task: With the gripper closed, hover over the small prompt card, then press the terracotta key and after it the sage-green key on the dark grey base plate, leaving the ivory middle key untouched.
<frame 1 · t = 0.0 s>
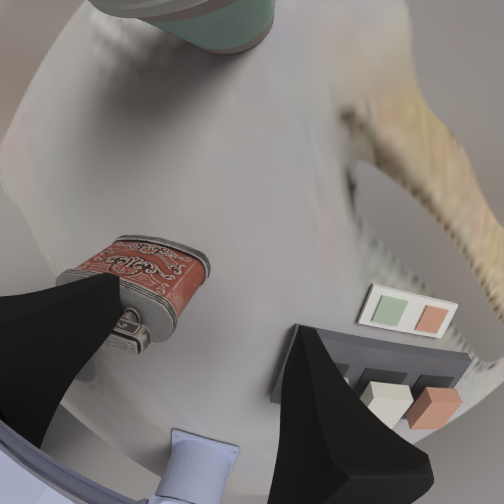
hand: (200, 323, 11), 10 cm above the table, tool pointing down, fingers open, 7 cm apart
coffee cup: (230, 19, 15), on the table
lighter: (160, 257, 22), on the table
dark grey base plate: (375, 377, 23), on the table
key ivory: (381, 406, 20), point 4 cm above the table, slide at 0.0 cm
prompt card: (410, 312, 20), on the table
key sage: (318, 398, 20), point 4 cm above the table, slide at 0.0 cm
key terracotta: (434, 409, 19), point 4 cm above the table, slide at 0.0 cm
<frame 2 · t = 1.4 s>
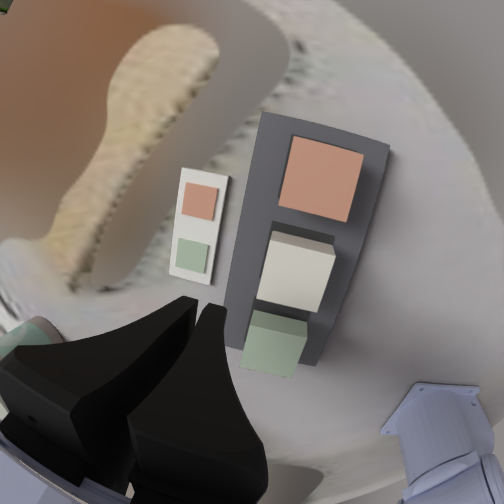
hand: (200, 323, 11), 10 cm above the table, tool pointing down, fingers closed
coffee cup: (48, 336, 29), on the table
dark grey base plate: (295, 250, 20), on the table
key ivory: (295, 271, 17), point 3 cm above the table, slide at 0.0 cm
prompt card: (197, 227, 21), on the table
key sage: (273, 345, 19), point 3 cm above the table, slide at 0.0 cm
key terracotta: (319, 177, 15), point 3 cm above the table, slide at 0.0 cm
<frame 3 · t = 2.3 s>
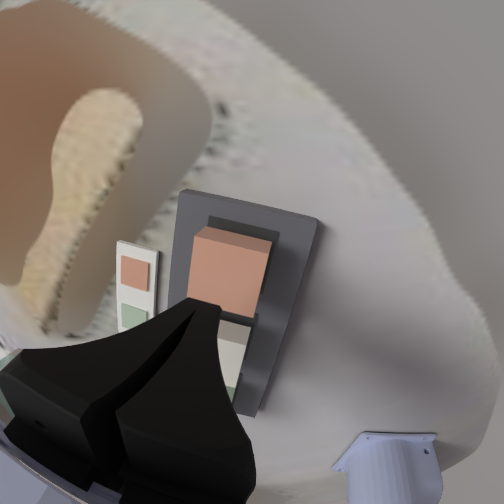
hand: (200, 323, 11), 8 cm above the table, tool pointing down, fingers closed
coffee cup: (30, 365, 29), on the table
dark grey base plate: (226, 320, 21), on the table
key ivory: (214, 351, 18), point 4 cm above the table, slide at 0.0 cm
prompt card: (137, 294, 21), on the table
key sage: (205, 404, 20), point 3 cm above the table, slide at 0.0 cm
key terracotta: (228, 271, 15), point 3 cm above the table, slide at 0.0 cm
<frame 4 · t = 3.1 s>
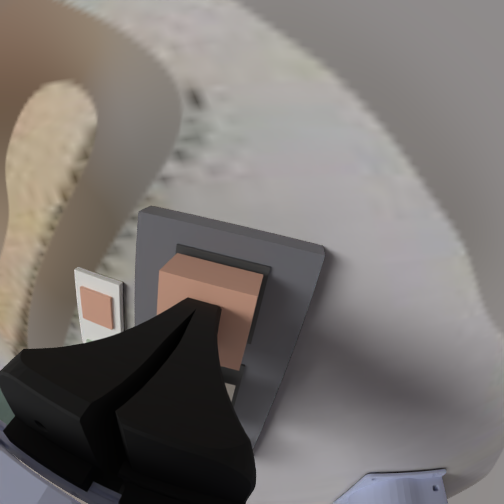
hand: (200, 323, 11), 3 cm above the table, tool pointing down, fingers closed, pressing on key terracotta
coffee cup: (10, 387, 24), on the table
dark grey base plate: (208, 366, 16), on the table
key ivory: (190, 410, 13), point 4 cm above the table, slide at 0.0 cm
prompt card: (103, 330, 17), on the table
key terracotta: (207, 312, 12), point 3 cm above the table, slide at 0.9 cm, touching gripper
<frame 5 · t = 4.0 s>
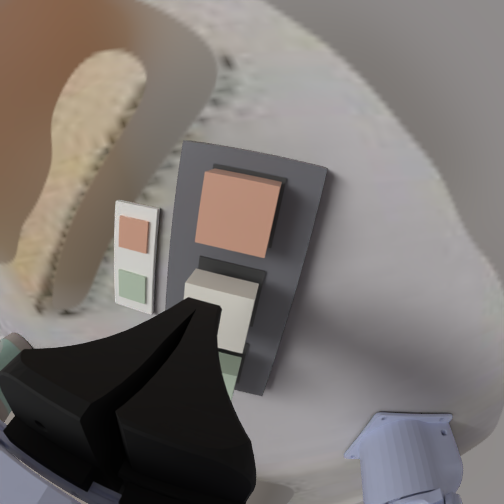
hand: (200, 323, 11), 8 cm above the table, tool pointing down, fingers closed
coffee cup: (25, 351, 28), on the table
dark grey base plate: (231, 283, 20), on the table
key ivory: (218, 311, 16), point 3 cm above the table, slide at 0.0 cm
prompt card: (135, 258, 20), on the table
key sage: (208, 378, 18), point 3 cm above the table, slide at 0.0 cm
key terracotta: (238, 211, 15), point 3 cm above the table, slide at 0.9 cm
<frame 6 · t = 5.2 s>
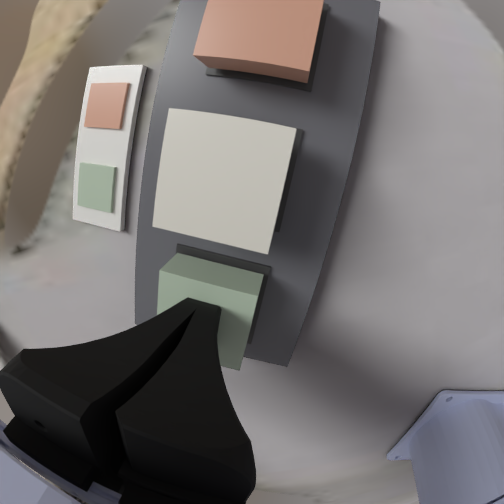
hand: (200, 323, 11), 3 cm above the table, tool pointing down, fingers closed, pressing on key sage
dark grey base plate: (244, 167, 12), on the table
key ivory: (225, 175, 9), point 3 cm above the table, slide at 0.0 cm
prompt card: (105, 145, 13), on the table
key sage: (207, 312, 12), point 3 cm above the table, slide at 0.9 cm, touching gripper
key terracotta: (264, 22, 8), point 3 cm above the table, slide at 0.9 cm
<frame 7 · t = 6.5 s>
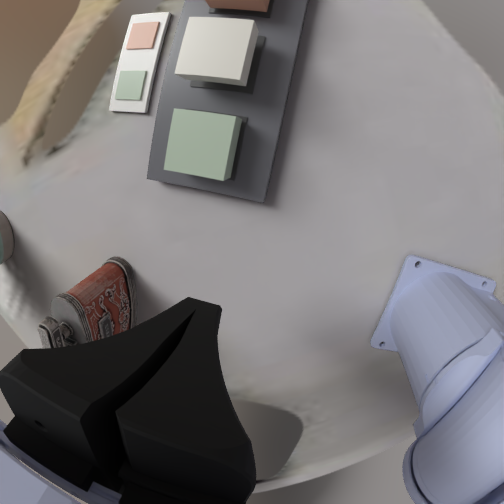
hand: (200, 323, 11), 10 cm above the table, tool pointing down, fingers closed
coffee cup: (2, 233, 25), on the table
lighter: (121, 297, 24), on the table
dark grey base plate: (231, 65, 17), on the table
key ivory: (217, 50, 13), point 3 cm above the table, slide at 0.0 cm
prompt card: (139, 60, 17), on the table
key sage: (202, 143, 16), point 3 cm above the table, slide at 0.9 cm
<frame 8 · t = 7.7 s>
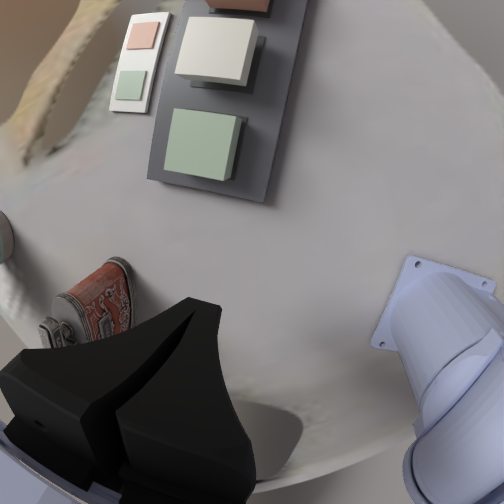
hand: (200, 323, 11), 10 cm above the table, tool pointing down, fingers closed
coffee cup: (2, 233, 25), on the table
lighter: (121, 297, 24), on the table
dark grey base plate: (231, 65, 17), on the table
key ivory: (217, 50, 13), point 3 cm above the table, slide at 0.0 cm
prompt card: (139, 60, 17), on the table
key sage: (202, 143, 16), point 3 cm above the table, slide at 0.9 cm
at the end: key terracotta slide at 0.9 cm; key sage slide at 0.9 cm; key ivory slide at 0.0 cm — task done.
